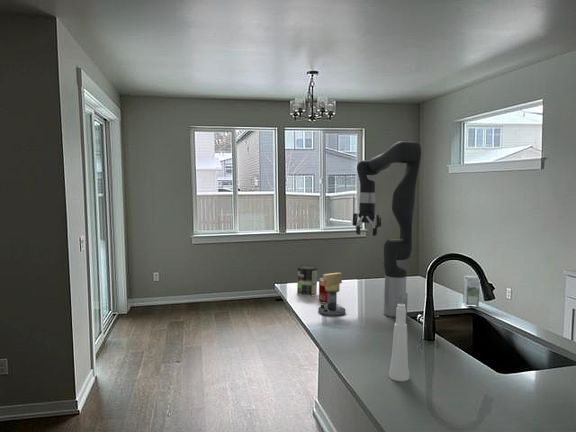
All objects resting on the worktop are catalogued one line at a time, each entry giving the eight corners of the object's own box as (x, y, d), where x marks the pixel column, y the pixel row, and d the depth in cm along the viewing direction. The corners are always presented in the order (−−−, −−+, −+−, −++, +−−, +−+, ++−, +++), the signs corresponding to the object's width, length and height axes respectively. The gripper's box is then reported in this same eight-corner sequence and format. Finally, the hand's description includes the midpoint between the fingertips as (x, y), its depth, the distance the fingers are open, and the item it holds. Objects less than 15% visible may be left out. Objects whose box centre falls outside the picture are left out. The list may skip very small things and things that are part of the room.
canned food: (335, 303, 221) (336, 280, 220) (319, 303, 221) (319, 280, 221) (334, 299, 229) (335, 277, 228) (318, 299, 229) (318, 277, 228)
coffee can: (302, 297, 233) (303, 269, 232) (293, 292, 242) (294, 265, 241) (320, 295, 237) (321, 267, 236) (311, 290, 246) (311, 264, 245)
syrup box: (475, 304, 223) (476, 274, 222) (478, 307, 217) (480, 277, 216) (462, 303, 223) (464, 274, 222) (466, 307, 218) (467, 276, 216)
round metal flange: (350, 311, 207) (350, 290, 206) (336, 317, 198) (336, 296, 197) (327, 307, 214) (328, 286, 214) (313, 312, 205) (313, 291, 204)
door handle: (334, 287, 211) (335, 271, 210) (344, 290, 205) (345, 274, 205) (317, 290, 204) (317, 274, 204) (326, 293, 199) (327, 276, 199)
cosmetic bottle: (394, 371, 142) (396, 300, 141) (412, 376, 139) (415, 304, 137) (384, 377, 138) (387, 304, 136) (403, 383, 134) (406, 308, 132)
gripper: (384, 202, 224) (383, 235, 225) (357, 201, 232) (357, 233, 233) (377, 202, 218) (376, 237, 219) (350, 201, 226) (349, 234, 227)
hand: (366, 235), depth 226 cm, fingers open, 8 cm apart
